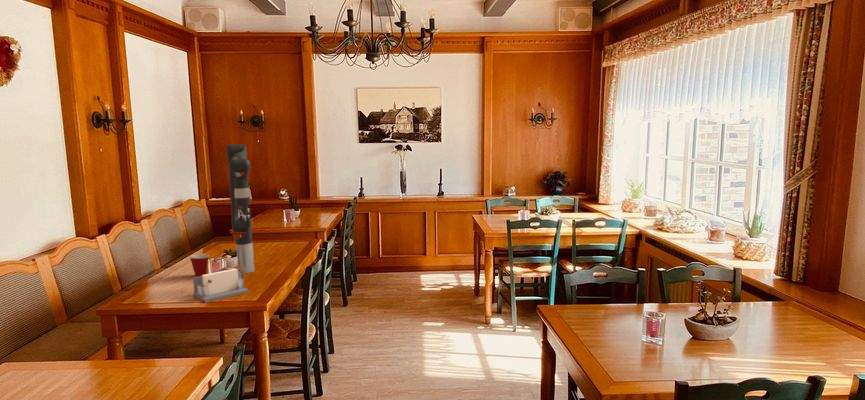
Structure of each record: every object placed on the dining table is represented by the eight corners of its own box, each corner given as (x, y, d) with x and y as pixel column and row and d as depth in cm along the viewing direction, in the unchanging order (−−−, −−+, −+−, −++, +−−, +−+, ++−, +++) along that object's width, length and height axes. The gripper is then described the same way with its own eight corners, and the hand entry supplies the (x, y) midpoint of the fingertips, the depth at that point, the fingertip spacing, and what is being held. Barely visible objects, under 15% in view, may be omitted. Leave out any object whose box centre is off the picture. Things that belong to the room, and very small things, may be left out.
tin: (246, 281, 290) (245, 266, 289) (243, 283, 287) (242, 268, 286) (220, 281, 292) (219, 266, 291) (217, 283, 289) (216, 268, 287)
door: (203, 294, 264) (201, 275, 263) (236, 286, 276) (235, 268, 274) (206, 296, 261) (204, 276, 260) (239, 288, 273) (238, 269, 271)
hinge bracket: (194, 295, 268) (192, 277, 266) (236, 286, 282) (235, 268, 281) (205, 302, 256) (203, 283, 254) (249, 292, 270) (247, 274, 269)
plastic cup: (214, 274, 306) (212, 254, 304) (195, 279, 298) (194, 258, 296) (206, 271, 313) (204, 252, 311) (188, 275, 305) (186, 255, 303)
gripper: (254, 196, 275) (257, 227, 278) (243, 194, 286) (245, 223, 288) (240, 198, 270) (243, 229, 273) (230, 196, 281) (232, 225, 283)
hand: (244, 226), depth 280 cm, fingers open, 8 cm apart
